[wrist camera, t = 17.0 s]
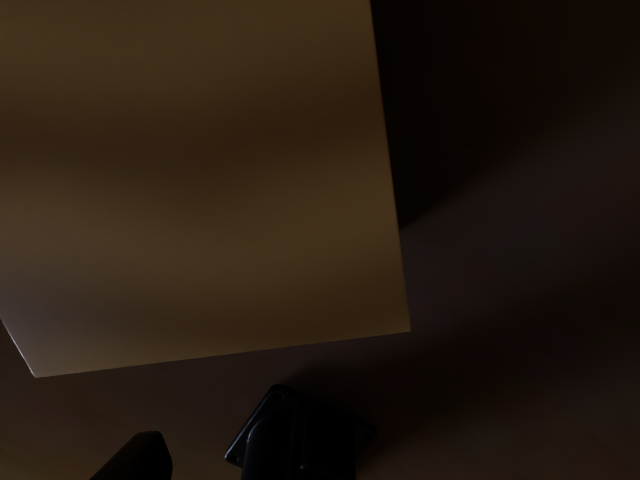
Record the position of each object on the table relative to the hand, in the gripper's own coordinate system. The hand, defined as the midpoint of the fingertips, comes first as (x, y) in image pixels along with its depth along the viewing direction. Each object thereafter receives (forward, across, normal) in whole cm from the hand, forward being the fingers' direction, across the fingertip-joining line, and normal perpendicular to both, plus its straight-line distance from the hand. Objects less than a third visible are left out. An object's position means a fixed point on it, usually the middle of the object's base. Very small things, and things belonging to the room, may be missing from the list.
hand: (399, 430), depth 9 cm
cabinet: (+13, +6, -4) cm, 15 cm away
